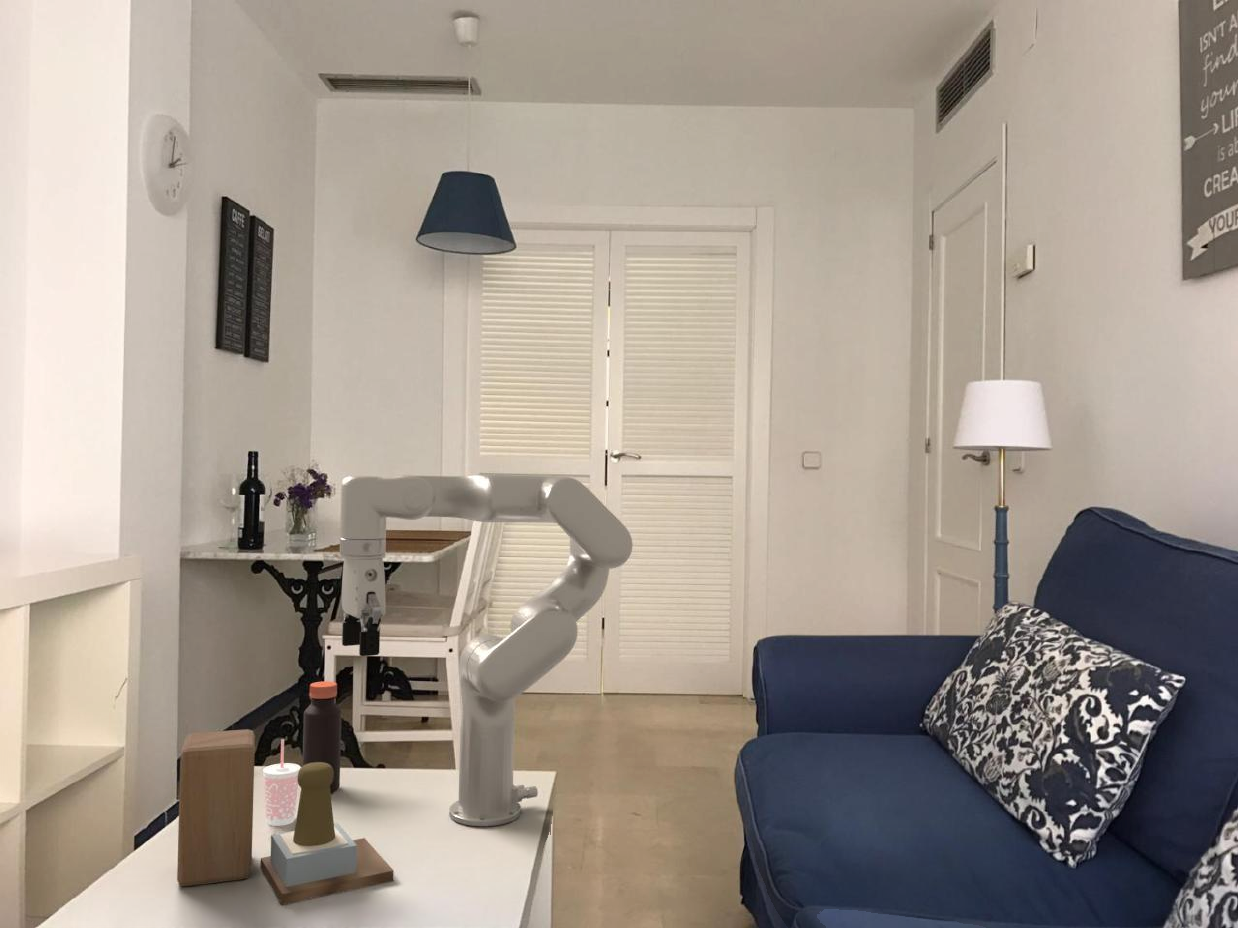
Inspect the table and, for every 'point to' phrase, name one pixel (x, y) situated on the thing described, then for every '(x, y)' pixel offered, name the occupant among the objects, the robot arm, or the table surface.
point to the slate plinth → (312, 858)
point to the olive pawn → (314, 805)
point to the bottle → (323, 729)
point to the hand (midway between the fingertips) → (360, 650)
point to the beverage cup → (281, 791)
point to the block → (216, 807)
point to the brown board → (367, 874)
